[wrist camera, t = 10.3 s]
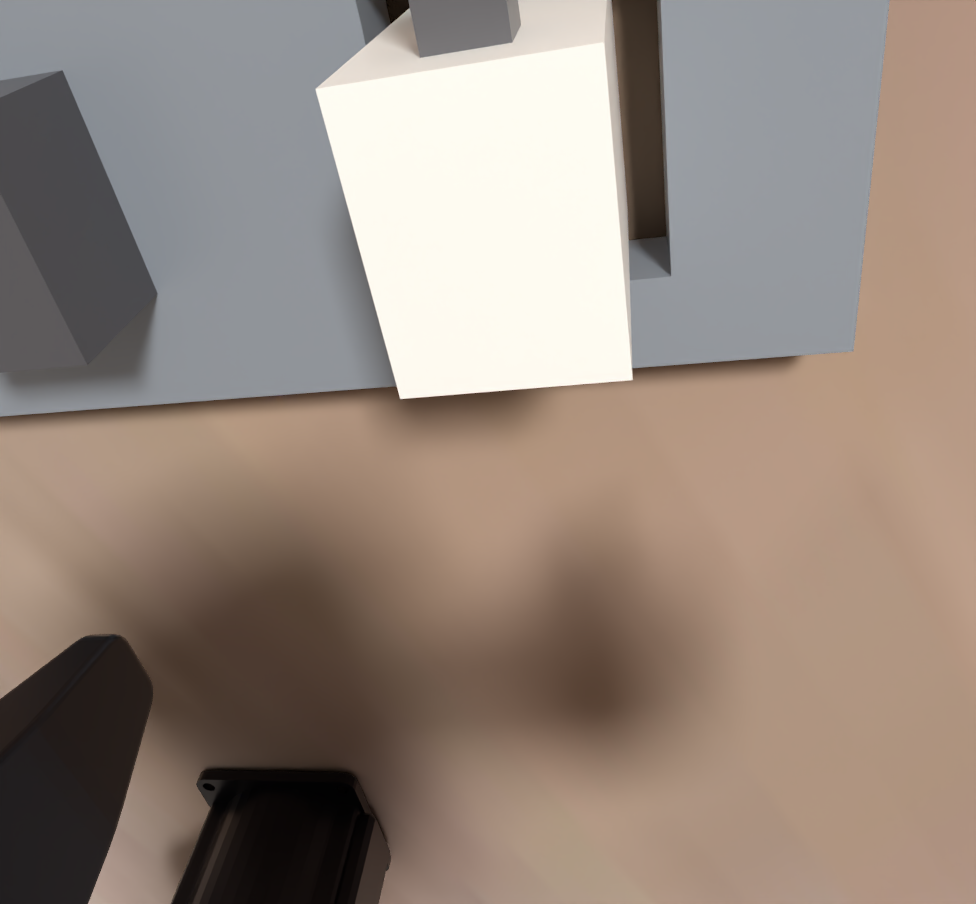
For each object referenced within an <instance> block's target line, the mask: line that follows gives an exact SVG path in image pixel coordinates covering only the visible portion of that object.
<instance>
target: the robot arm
mask: <svg viewBox="0 0 976 904" xmlns="http://www.w3.org/2000/svg"><path fill="white" fill-rule="evenodd" d="M152 700H153V686H152V682H151V679H150V677H149V675H148V674H147V672H146V670H145V669H144V667H143V666H142V664H141V662H140V661H139V659H138V657H137V656H136V654H135V652H134V651H133V649H132V648H131V646H130V644H129V643H128V641H127V640H126V639H125V638H124V637H122V636H120V635H117V634H103V635H89V636H85V637H83V638H81V639H79V640H78V641H76V642H75V643H74V644H72V645H71V646H70V647H68V648H67V649H66V650H64V651H63V652H62V653H60V654H59V655H58V656H57V657H55V658H54V659H53V660H51V661H50V662H49V663H47V664H46V665H45V666H43V667H42V668H41V669H39V670H38V671H37V672H35V673H34V674H33V675H31V676H30V677H29V678H27V679H26V680H25V681H24V682H22V683H21V684H20V685H18V686H17V687H16V688H14V689H13V690H12V691H10V692H9V693H8V694H6V695H5V696H4V697H2V698H1V699H0V904H88V902H89V899H90V897H91V894H92V892H93V889H94V887H95V884H96V881H97V879H98V876H99V874H100V871H101V868H102V866H103V863H104V861H105V858H106V856H107V853H108V850H109V847H110V845H111V842H112V839H113V836H114V834H115V831H116V828H117V824H118V821H119V818H120V815H121V811H122V808H123V805H124V801H125V798H126V794H127V790H128V787H129V783H130V780H131V776H132V772H133V769H134V765H135V762H136V758H137V755H138V751H139V747H140V744H141V740H142V737H143V733H144V730H145V726H146V722H147V719H148V715H149V712H150V708H151V704H152ZM196 785H197V787H198V789H199V790H200V792H201V794H202V795H203V797H204V798H205V800H206V802H207V803H208V805H209V806H210V810H209V812H208V815H207V817H206V820H205V822H204V825H203V827H202V829H201V832H200V834H199V837H198V839H197V841H196V844H195V846H194V849H193V851H192V854H191V856H190V858H189V861H188V863H187V866H186V868H185V870H184V873H183V875H182V878H181V880H180V883H179V885H178V887H177V890H176V892H175V895H174V897H173V899H172V902H171V904H378V903H379V899H380V894H381V890H382V885H383V881H384V876H385V872H386V871H387V870H388V869H389V865H390V861H391V856H390V854H389V853H390V850H389V848H388V846H387V843H386V841H385V839H384V836H383V834H382V832H381V829H380V827H379V825H378V823H377V820H376V819H375V817H374V816H373V815H372V812H371V810H370V808H369V805H368V803H367V801H366V799H365V796H364V794H363V792H362V789H361V787H360V785H359V782H358V780H357V779H356V778H355V777H354V776H352V775H350V774H347V773H331V772H273V771H216V770H207V771H203V772H201V775H200V777H199V779H198V781H197V784H196Z"/></svg>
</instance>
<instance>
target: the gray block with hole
mask: <svg viewBox="0 0 976 904" xmlns="http://www.w3.org/2000/svg"><path fill="white" fill-rule="evenodd" d="M889 1H890V0H657V17H658V41H659V66H660V91H661V115H662V140H663V164H664V189H665V213H666V236H665V237H656V238H646V239H637V240H629V273H630V307H631V342H632V368H642V367H655V366H668V365H681V364H694V363H707V362H720V361H733V360H746V359H759V358H773V357H786V356H799V355H812V354H825V353H838V352H851V351H853V350H854V340H855V331H856V321H857V311H858V302H859V292H860V282H861V272H862V263H863V253H864V243H865V234H866V224H867V214H868V204H869V195H870V185H871V175H872V166H873V156H874V146H875V137H876V127H877V117H878V107H879V98H880V88H881V78H882V69H883V59H884V49H885V40H886V30H887V20H888V10H889ZM390 24H391V23H390V18H389V14H388V9H387V4H386V0H0V416H13V415H26V414H39V413H52V412H65V411H78V410H91V409H104V408H117V407H131V406H144V405H157V404H170V403H183V402H196V401H209V400H222V399H235V398H248V397H262V396H275V395H288V394H301V393H314V392H327V391H340V390H353V389H366V388H380V387H393V386H397V385H396V381H395V378H394V374H393V370H392V367H391V363H390V360H389V356H388V352H387V349H386V345H385V341H384V338H383V334H382V330H381V327H380V323H379V319H378V316H377V312H376V308H375V305H374V301H373V298H372V294H371V290H370V287H369V283H368V279H367V276H366V272H365V268H364V265H363V261H362V257H361V254H360V250H359V246H358V243H357V239H356V235H355V232H354V228H353V225H352V221H351V217H350V214H349V210H348V206H347V203H346V199H345V195H344V192H343V188H342V184H341V181H340V177H339V173H338V170H337V166H336V163H335V159H334V155H333V152H332V148H331V144H330V141H329V137H328V133H327V130H326V126H325V122H324V119H323V115H322V111H321V108H320V104H319V101H318V97H317V93H316V90H315V89H316V88H317V87H318V86H319V85H321V84H322V83H323V82H324V81H325V80H326V79H328V78H329V77H330V76H331V75H332V74H333V73H335V72H336V71H337V70H338V69H339V68H340V67H342V66H343V65H344V64H345V63H346V62H347V61H349V60H350V59H351V58H352V57H353V56H354V55H355V54H357V53H358V52H359V51H360V50H361V49H362V48H364V47H365V46H366V45H367V44H368V43H369V42H371V41H372V40H373V39H374V38H375V37H376V36H378V35H379V34H380V33H381V32H382V31H383V30H385V29H386V28H387V27H388V26H389V25H390Z"/></svg>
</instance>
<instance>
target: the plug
mask: <svg viewBox="0 0 976 904" xmlns="http://www.w3.org/2000/svg"><path fill="white" fill-rule="evenodd" d="M408 1H409V6H410V8H409V9H408V10H407V11H406V12H404V13H403V14H402V15H401V16H400V17H399V18H397V19H396V20H395V21H394V22H393V23H392V24H390V25H389V26H388V27H387V28H386V29H385V30H383V31H382V32H381V33H380V34H379V35H378V36H376V37H375V38H374V39H373V40H372V41H371V42H369V43H368V44H367V45H366V46H365V47H364V48H362V49H361V50H360V51H359V52H358V53H357V54H355V55H354V56H353V57H352V58H351V59H350V60H349V61H347V62H346V63H345V64H344V65H343V66H342V67H340V68H339V69H338V70H337V71H336V72H335V73H333V74H332V75H331V76H330V77H329V78H328V79H326V80H325V81H324V82H323V83H322V84H321V85H319V86H318V87H317V88H316V89H315V90H316V93H317V97H318V101H319V104H320V108H321V111H322V115H323V119H324V122H325V126H326V130H327V133H328V137H329V141H330V144H331V148H332V152H333V155H334V159H335V163H336V166H337V170H338V173H339V177H340V181H341V184H342V188H343V192H344V195H345V199H346V203H347V206H348V210H349V214H350V217H351V221H352V225H353V228H354V232H355V235H356V239H357V243H358V246H359V250H360V254H361V257H362V261H363V265H364V268H365V272H366V276H367V279H368V283H369V287H370V290H371V294H372V298H373V301H374V305H375V308H376V312H377V316H378V319H379V323H380V327H381V330H382V334H383V338H384V341H385V345H386V349H387V352H388V356H389V360H390V363H391V367H392V370H393V374H394V378H395V381H396V385H397V389H398V392H399V396H400V399H407V398H419V397H432V396H444V395H456V394H468V393H480V392H493V391H505V390H517V389H529V388H542V387H554V386H566V385H578V384H590V383H603V382H615V381H627V380H633V377H632V342H631V307H630V273H629V238H628V205H627V192H626V179H625V166H624V153H623V141H622V128H621V115H620V102H619V89H618V76H617V63H616V50H615V37H614V24H613V11H612V0H408Z"/></svg>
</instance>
